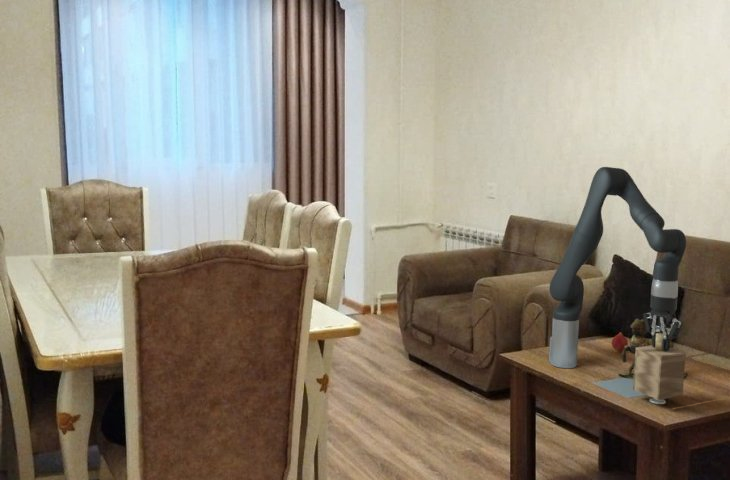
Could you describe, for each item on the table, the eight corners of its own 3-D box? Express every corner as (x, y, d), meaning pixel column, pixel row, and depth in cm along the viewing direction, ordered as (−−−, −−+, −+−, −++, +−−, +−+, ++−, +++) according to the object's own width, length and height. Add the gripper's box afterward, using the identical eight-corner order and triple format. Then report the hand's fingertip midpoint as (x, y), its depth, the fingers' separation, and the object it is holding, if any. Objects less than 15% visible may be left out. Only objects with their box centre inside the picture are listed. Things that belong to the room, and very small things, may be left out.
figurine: (610, 370, 264) (613, 314, 262) (678, 370, 266) (681, 314, 264) (626, 380, 251) (630, 321, 249) (697, 380, 253) (701, 322, 251)
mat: (592, 384, 249) (592, 382, 249) (627, 378, 256) (627, 376, 256) (628, 399, 235) (628, 397, 235) (664, 392, 242) (664, 391, 242)
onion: (608, 350, 289) (609, 330, 288) (620, 349, 291) (621, 329, 290) (617, 355, 284) (618, 334, 283) (630, 353, 285) (631, 333, 284)
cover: (633, 389, 234) (636, 331, 231) (656, 385, 238) (660, 328, 236) (658, 399, 225) (662, 339, 222) (682, 395, 229) (686, 336, 227)
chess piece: (661, 399, 234) (663, 369, 233) (668, 405, 230) (670, 374, 228) (646, 399, 234) (648, 369, 233) (653, 405, 229) (655, 374, 228)
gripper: (637, 290, 232) (634, 344, 234) (674, 299, 219) (670, 356, 222) (655, 289, 235) (651, 342, 238) (692, 297, 223) (688, 353, 225)
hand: (660, 348), depth 230 cm, fingers closed on cover, 3 cm apart
